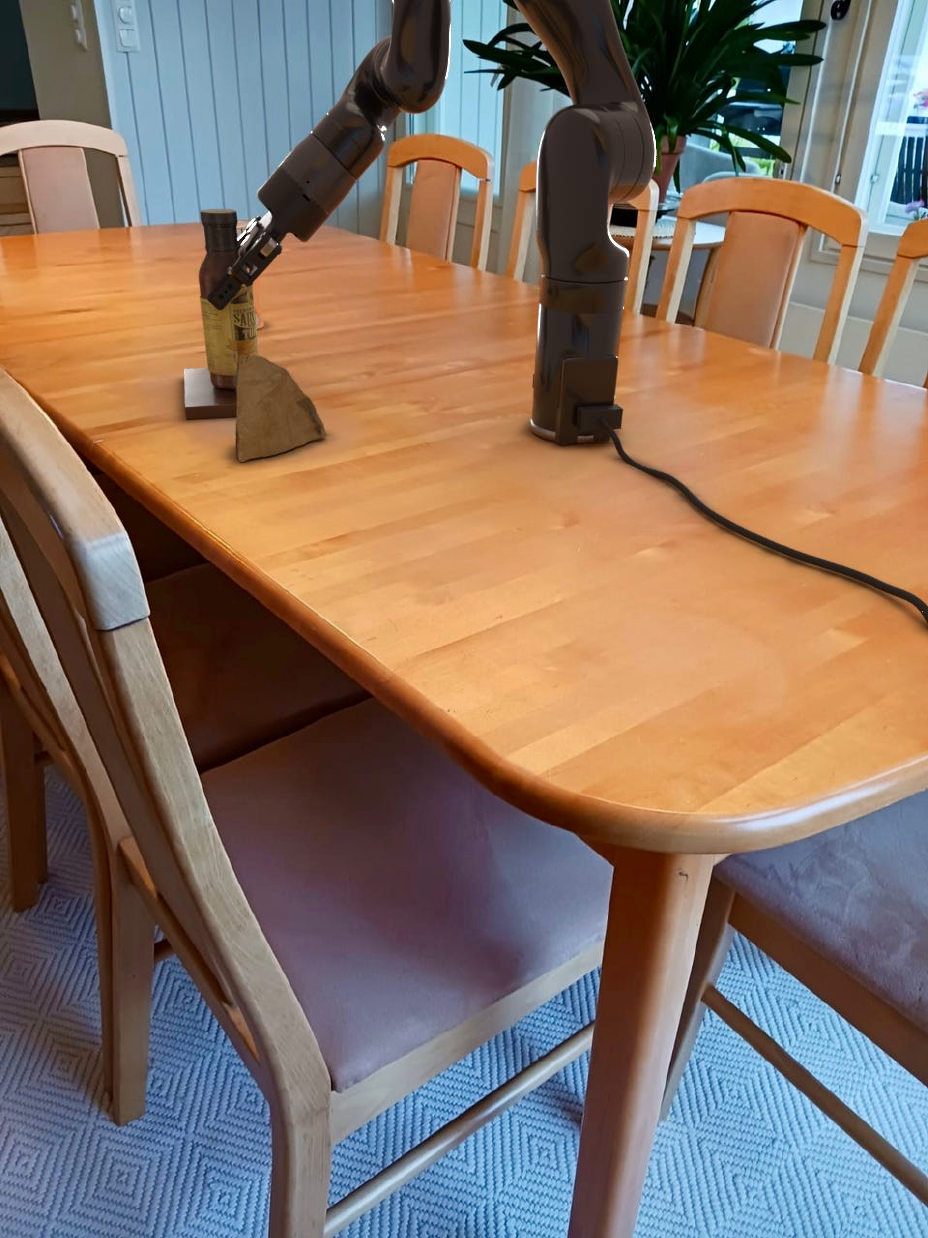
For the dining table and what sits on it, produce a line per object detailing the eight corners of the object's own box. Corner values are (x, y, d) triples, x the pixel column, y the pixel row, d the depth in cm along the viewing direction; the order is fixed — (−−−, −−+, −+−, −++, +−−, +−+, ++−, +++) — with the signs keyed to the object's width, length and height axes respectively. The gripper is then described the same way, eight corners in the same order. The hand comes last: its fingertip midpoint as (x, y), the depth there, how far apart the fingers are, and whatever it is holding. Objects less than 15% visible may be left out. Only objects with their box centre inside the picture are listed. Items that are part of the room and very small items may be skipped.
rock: (325, 404, 107) (235, 395, 105) (333, 357, 100) (237, 346, 97) (324, 487, 103) (231, 479, 101) (333, 444, 96) (232, 435, 93)
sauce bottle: (249, 393, 113) (231, 215, 103) (201, 389, 114) (178, 213, 104) (269, 377, 119) (254, 207, 108) (223, 373, 120) (203, 205, 109)
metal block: (290, 413, 112) (289, 401, 111) (186, 419, 109) (184, 407, 108) (279, 375, 125) (278, 364, 124) (185, 380, 122) (184, 368, 121)
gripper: (276, 156, 111) (186, 263, 115) (287, 169, 99) (186, 288, 103) (323, 204, 115) (234, 306, 119) (339, 222, 103) (240, 335, 107)
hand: (212, 297), depth 111 cm, fingers closed on sauce bottle, 6 cm apart
